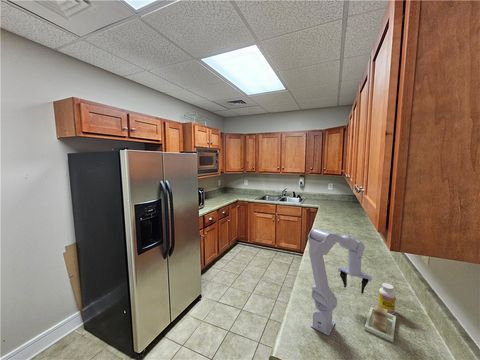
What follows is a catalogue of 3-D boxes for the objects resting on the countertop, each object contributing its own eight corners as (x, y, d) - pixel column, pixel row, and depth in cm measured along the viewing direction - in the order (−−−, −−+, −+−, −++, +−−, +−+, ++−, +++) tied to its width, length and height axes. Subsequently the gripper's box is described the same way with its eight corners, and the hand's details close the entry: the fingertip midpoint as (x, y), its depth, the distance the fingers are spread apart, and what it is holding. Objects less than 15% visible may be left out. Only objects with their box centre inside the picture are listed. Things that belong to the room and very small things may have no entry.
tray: (393, 343, 83) (393, 338, 83) (364, 330, 89) (364, 326, 89) (395, 320, 95) (396, 316, 95) (370, 310, 101) (370, 306, 101)
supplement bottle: (380, 313, 99) (381, 288, 98) (376, 304, 105) (377, 280, 104) (397, 316, 97) (398, 291, 96) (392, 307, 103) (393, 283, 102)
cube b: (387, 318, 95) (387, 309, 95) (385, 324, 92) (386, 315, 91) (375, 314, 98) (376, 305, 98) (374, 319, 95) (374, 310, 94)
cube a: (386, 328, 90) (387, 318, 89) (385, 335, 86) (386, 325, 86) (374, 323, 92) (374, 314, 92) (373, 329, 89) (373, 320, 89)
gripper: (373, 265, 99) (372, 291, 100) (341, 256, 109) (340, 280, 110) (370, 270, 94) (369, 298, 95) (337, 261, 104) (336, 286, 105)
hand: (353, 289), depth 102 cm, fingers open, 7 cm apart
